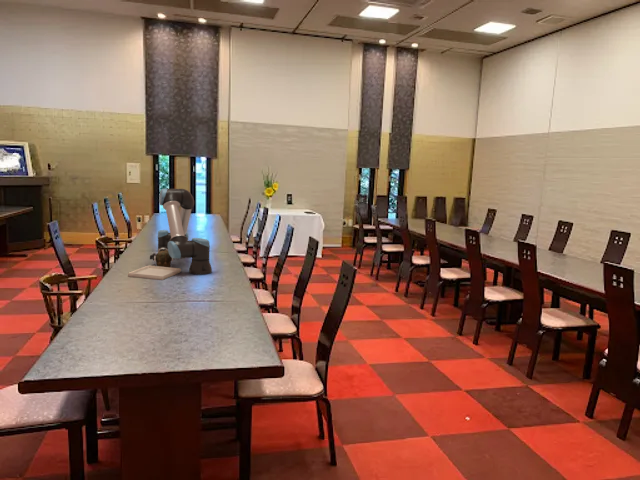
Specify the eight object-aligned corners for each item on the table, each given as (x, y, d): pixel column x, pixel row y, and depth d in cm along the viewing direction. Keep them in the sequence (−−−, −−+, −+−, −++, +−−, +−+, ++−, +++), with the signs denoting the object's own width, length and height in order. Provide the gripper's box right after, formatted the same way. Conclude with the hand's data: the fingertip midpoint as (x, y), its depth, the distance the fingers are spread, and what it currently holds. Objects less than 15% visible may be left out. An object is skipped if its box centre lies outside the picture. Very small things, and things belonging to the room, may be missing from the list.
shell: (174, 266, 336) (174, 249, 334) (168, 269, 325) (168, 252, 323) (159, 265, 337) (159, 248, 335) (152, 268, 326) (152, 251, 324)
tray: (180, 272, 320) (180, 268, 320) (162, 280, 297) (162, 276, 296) (148, 268, 324) (148, 265, 324) (127, 276, 301) (127, 272, 301)
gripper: (179, 258, 351) (181, 264, 331) (146, 258, 343) (145, 265, 323) (179, 248, 350) (181, 253, 330) (146, 248, 342) (145, 254, 322)
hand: (163, 259), depth 326 cm, fingers closed on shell, 11 cm apart
